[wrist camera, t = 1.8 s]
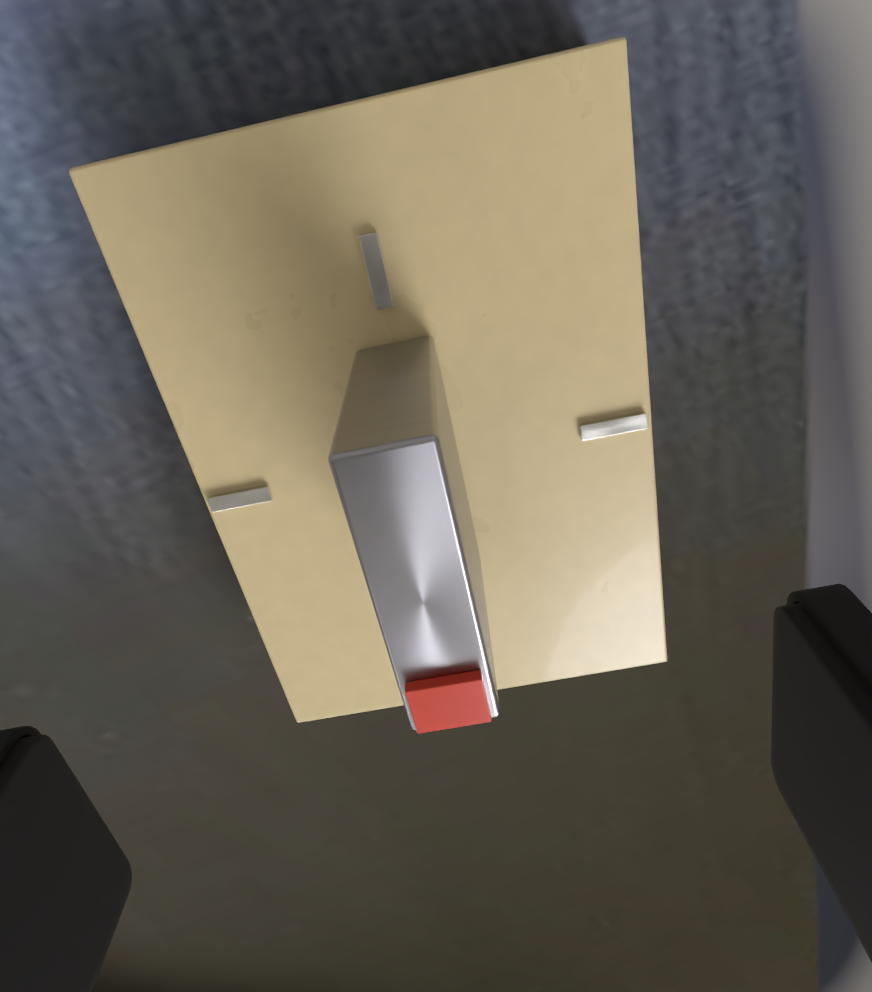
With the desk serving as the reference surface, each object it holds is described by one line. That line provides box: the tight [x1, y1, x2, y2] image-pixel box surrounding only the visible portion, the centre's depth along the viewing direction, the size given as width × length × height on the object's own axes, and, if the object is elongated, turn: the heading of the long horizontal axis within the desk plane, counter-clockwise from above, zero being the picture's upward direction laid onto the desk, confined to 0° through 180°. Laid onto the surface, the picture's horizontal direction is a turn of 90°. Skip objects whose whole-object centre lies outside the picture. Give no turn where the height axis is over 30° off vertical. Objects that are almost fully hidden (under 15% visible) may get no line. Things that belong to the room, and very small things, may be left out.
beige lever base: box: [69, 37, 667, 722], centre depth 17 cm, size 14×10×3 cm
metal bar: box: [328, 336, 500, 733], centre depth 13 cm, size 6×2×5 cm, turn 12°
